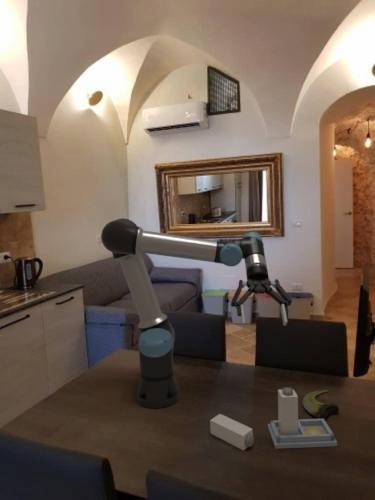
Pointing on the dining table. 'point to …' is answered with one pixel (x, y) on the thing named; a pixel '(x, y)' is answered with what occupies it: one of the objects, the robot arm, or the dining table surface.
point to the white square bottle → (287, 411)
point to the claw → (319, 405)
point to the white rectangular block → (232, 431)
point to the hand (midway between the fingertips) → (264, 324)
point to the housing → (304, 435)
